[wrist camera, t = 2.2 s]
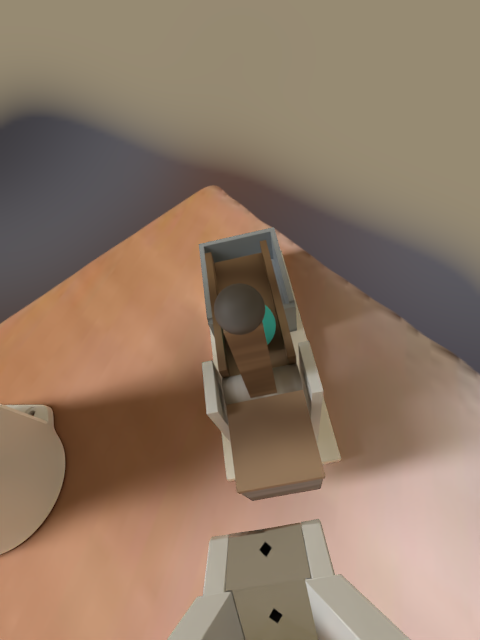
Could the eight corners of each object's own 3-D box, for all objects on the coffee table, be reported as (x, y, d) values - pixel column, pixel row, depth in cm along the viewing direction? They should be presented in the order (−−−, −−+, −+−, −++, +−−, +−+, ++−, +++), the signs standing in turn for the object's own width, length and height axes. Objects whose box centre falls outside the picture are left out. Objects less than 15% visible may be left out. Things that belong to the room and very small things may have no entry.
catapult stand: (340, 461, 37) (361, 414, 22) (229, 481, 37) (181, 448, 23) (282, 257, 53) (272, 154, 38) (205, 274, 53) (168, 179, 39)
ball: (223, 356, 28) (212, 332, 25) (235, 314, 30) (226, 286, 26) (272, 364, 27) (267, 339, 23) (281, 320, 29) (278, 292, 25)
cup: (297, 330, 44) (295, 304, 39) (218, 346, 45) (207, 322, 39) (277, 257, 51) (273, 227, 46) (209, 272, 51) (198, 244, 46)
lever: (321, 488, 28) (339, 430, 12) (251, 501, 28) (183, 460, 13) (273, 293, 39) (251, 132, 23) (223, 304, 39) (168, 153, 24)
